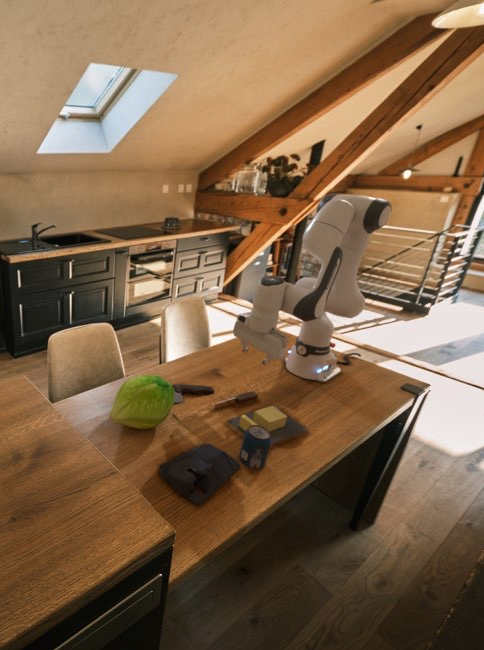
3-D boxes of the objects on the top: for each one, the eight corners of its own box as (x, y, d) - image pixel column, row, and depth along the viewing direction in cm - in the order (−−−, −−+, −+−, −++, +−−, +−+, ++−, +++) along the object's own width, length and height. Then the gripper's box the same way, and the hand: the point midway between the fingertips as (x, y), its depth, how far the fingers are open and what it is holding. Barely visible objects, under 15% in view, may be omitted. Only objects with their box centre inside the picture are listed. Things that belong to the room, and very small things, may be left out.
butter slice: (242, 424, 126) (244, 414, 125) (256, 436, 121) (259, 426, 120) (238, 425, 125) (240, 415, 124) (253, 437, 120) (255, 427, 119)
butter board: (272, 408, 137) (276, 395, 135) (308, 433, 125) (312, 420, 123) (225, 423, 128) (228, 410, 126) (258, 452, 117) (262, 438, 114)
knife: (251, 397, 142) (253, 390, 141) (256, 401, 140) (258, 393, 139) (211, 409, 135) (212, 401, 134) (216, 413, 133) (217, 405, 132)
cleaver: (209, 387, 148) (210, 382, 147) (219, 402, 139) (220, 397, 138) (134, 389, 145) (134, 384, 145) (140, 405, 137) (140, 400, 136)
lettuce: (105, 441, 127) (88, 392, 128) (163, 411, 138) (146, 366, 139) (135, 448, 110) (115, 392, 111) (197, 413, 121) (179, 362, 122)
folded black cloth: (248, 475, 108) (251, 462, 106) (194, 510, 97) (196, 496, 95) (206, 442, 120) (208, 430, 118) (153, 469, 109) (155, 457, 107)
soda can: (251, 452, 116) (259, 421, 112) (268, 469, 110) (278, 437, 106) (233, 458, 114) (240, 426, 109) (249, 475, 108) (258, 442, 103)
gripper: (295, 334, 122) (286, 370, 128) (246, 310, 140) (240, 343, 145) (281, 338, 120) (272, 375, 126) (233, 313, 137) (227, 346, 143)
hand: (254, 358), depth 136 cm, fingers open, 8 cm apart
